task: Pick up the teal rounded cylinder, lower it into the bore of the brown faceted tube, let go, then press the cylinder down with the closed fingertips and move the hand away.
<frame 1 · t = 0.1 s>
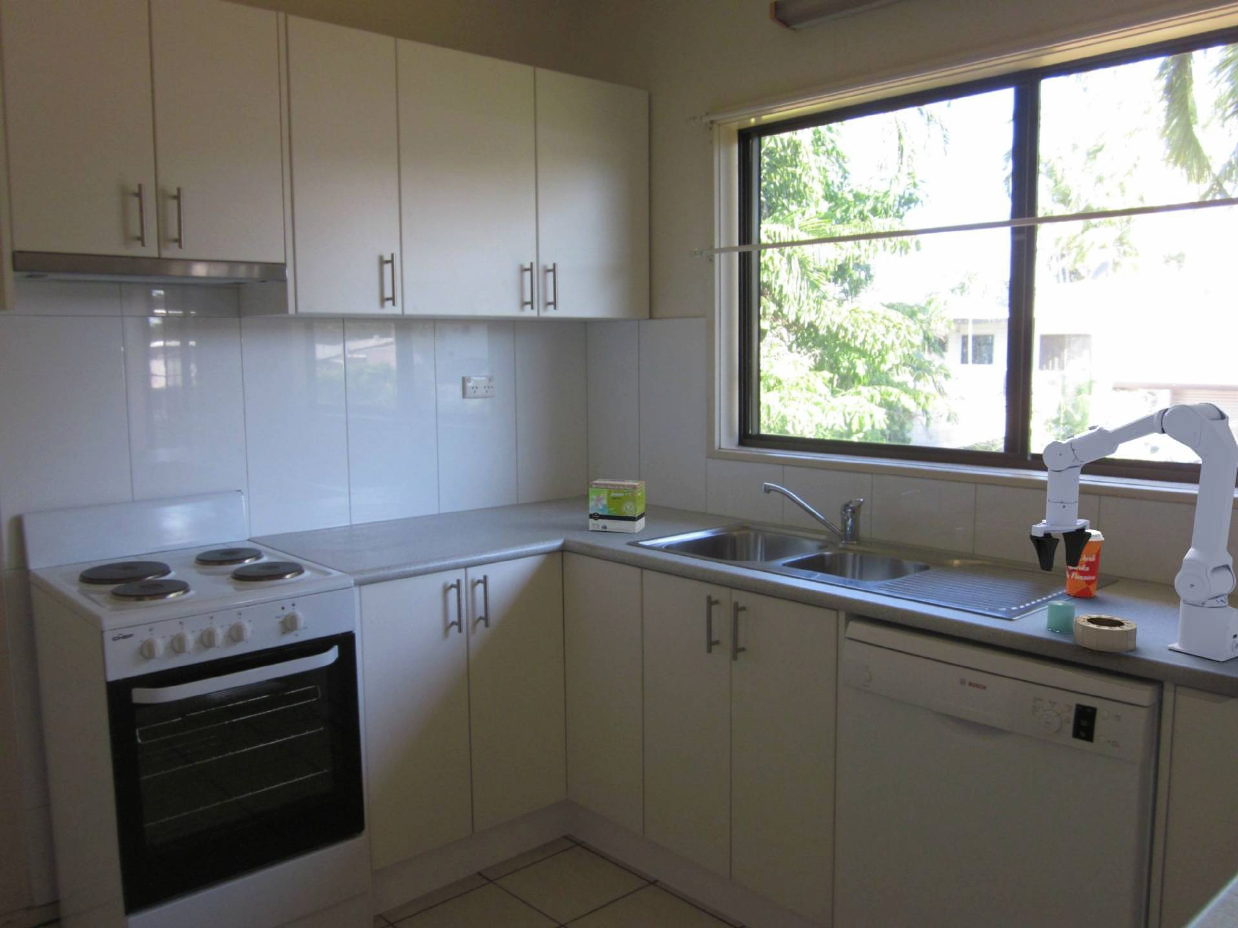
hand: (1059, 568, 196), 10 cm above the countertop, tool pointing down, fingers open, 7 cm apart
paper cup: (1081, 595, 215), on the countertop
teal rounded cylinder: (1060, 629, 189), on the countertop
brown faceted tube: (1104, 643, 179), on the countertop
tea box: (617, 530, 295), on the countertop
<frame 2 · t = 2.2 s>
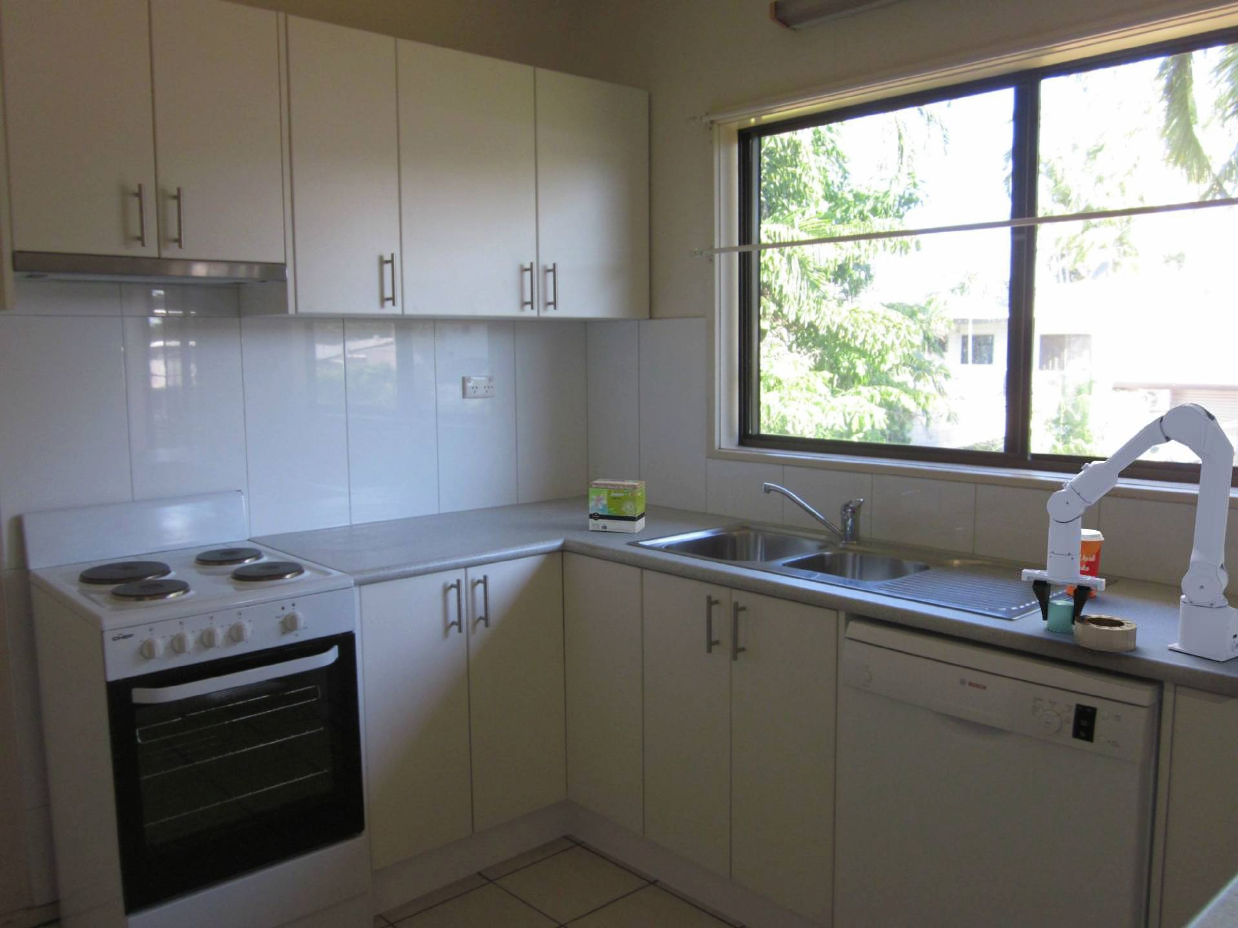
hand: (1060, 621, 189), 1 cm above the countertop, tool pointing down, fingers closed on teal rounded cylinder, 5 cm apart
teal rounded cylinder: (1060, 628, 189), on the countertop, touching gripper
everything else where it was.
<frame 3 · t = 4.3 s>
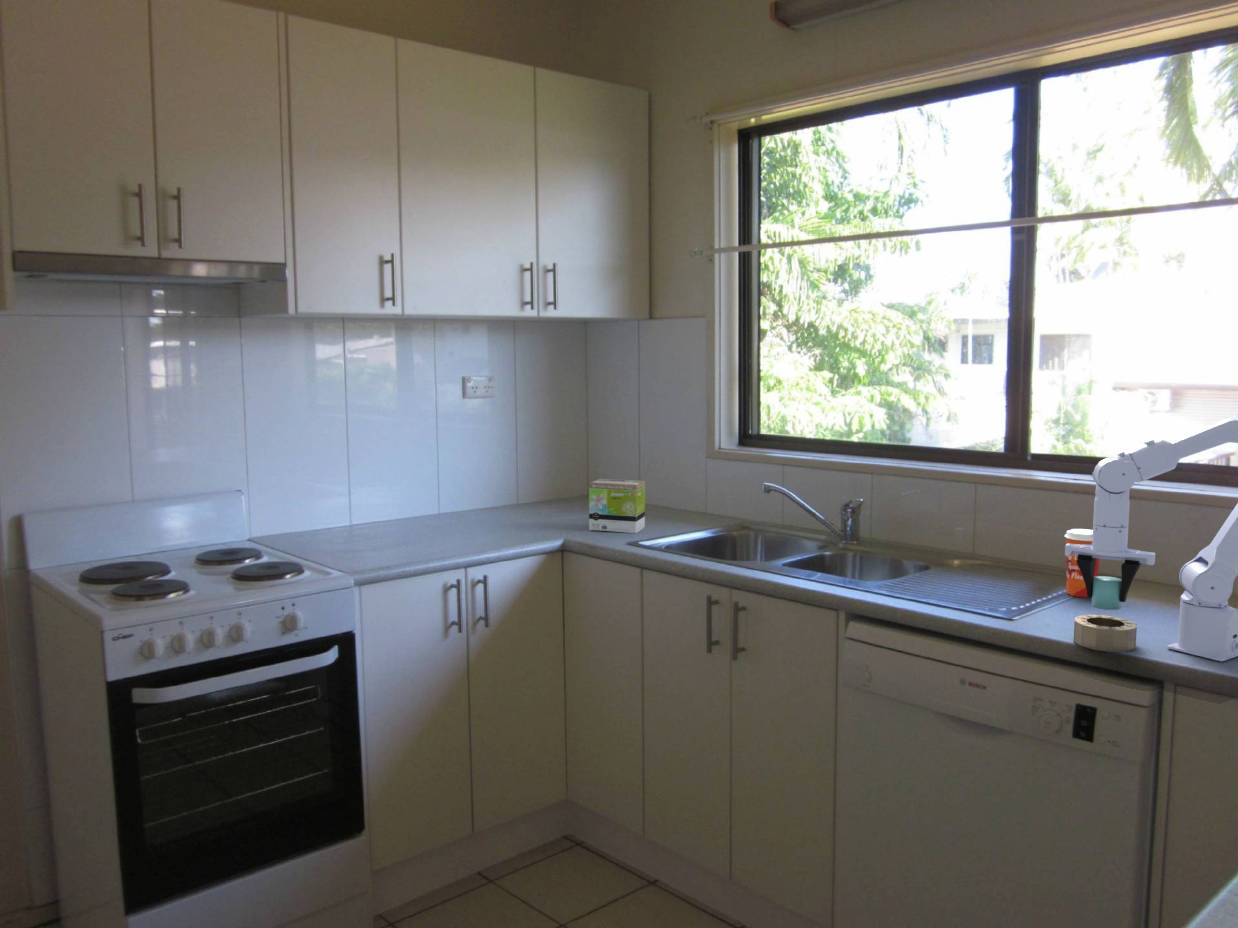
hand: (1106, 598, 178), 8 cm above the countertop, tool pointing down, fingers closed on teal rounded cylinder, 5 cm apart
teal rounded cylinder: (1106, 606, 179), point 7 cm above the countertop, touching gripper
everything else where it was.
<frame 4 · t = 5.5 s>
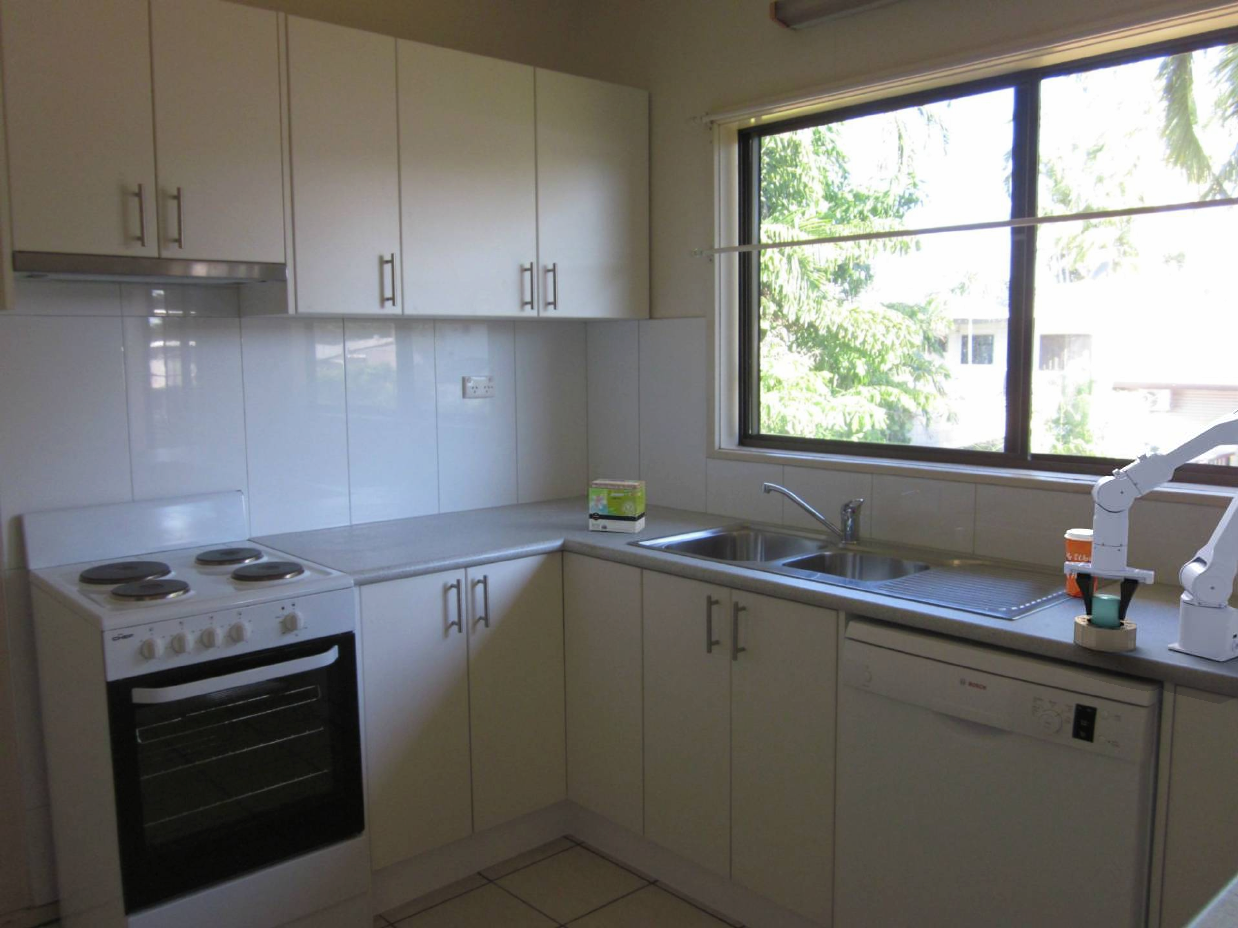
hand: (1105, 616, 179), 5 cm above the countertop, tool pointing down, fingers closed on teal rounded cylinder, 5 cm apart
teal rounded cylinder: (1105, 624, 179), point 4 cm above the countertop, touching gripper
everything else where it was.
when the fingers open (5 cm above the countertop, at t = 6.4 s): teal rounded cylinder drops 4 cm, resting in brown faceted tube.
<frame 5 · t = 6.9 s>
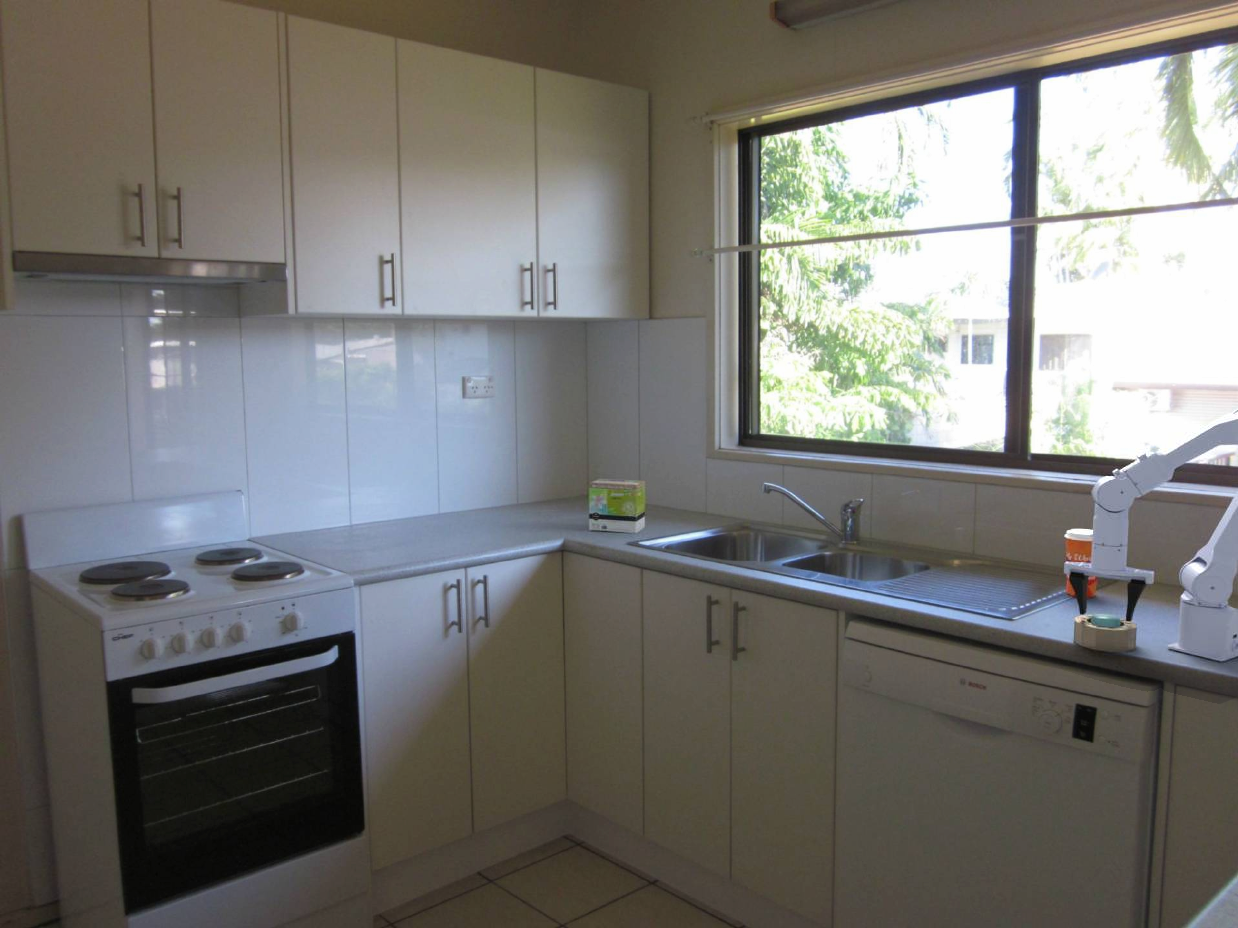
hand: (1105, 616, 179), 5 cm above the countertop, tool pointing down, fingers open, 7 cm apart
teal rounded cylinder: (1104, 643, 179), resting in brown faceted tube
everything else where it was.
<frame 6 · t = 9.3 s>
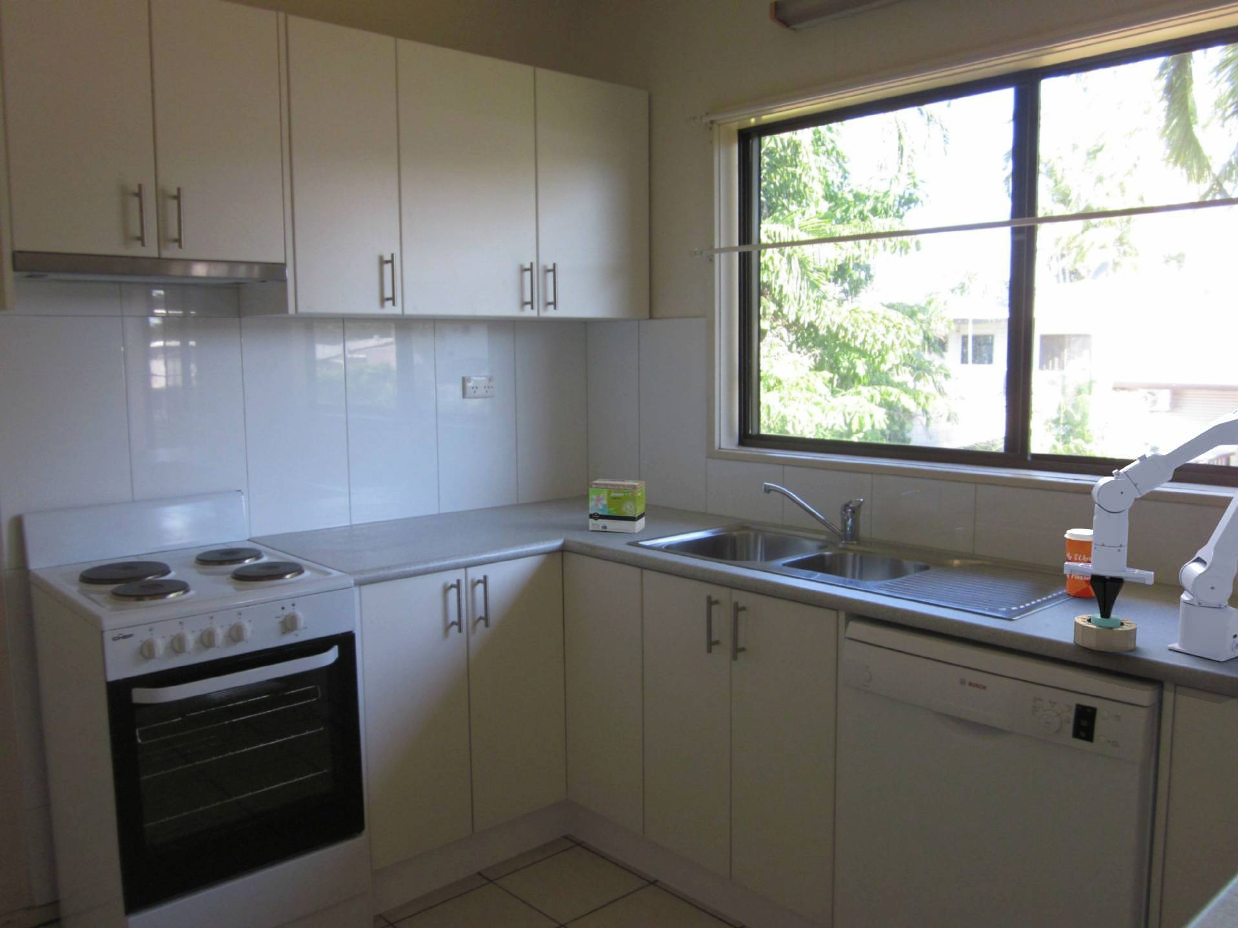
hand: (1105, 617, 179), 5 cm above the countertop, tool pointing down, fingers closed, pressing on teal rounded cylinder
teal rounded cylinder: (1104, 643, 179), resting in brown faceted tube, touching gripper
everything else where it was.
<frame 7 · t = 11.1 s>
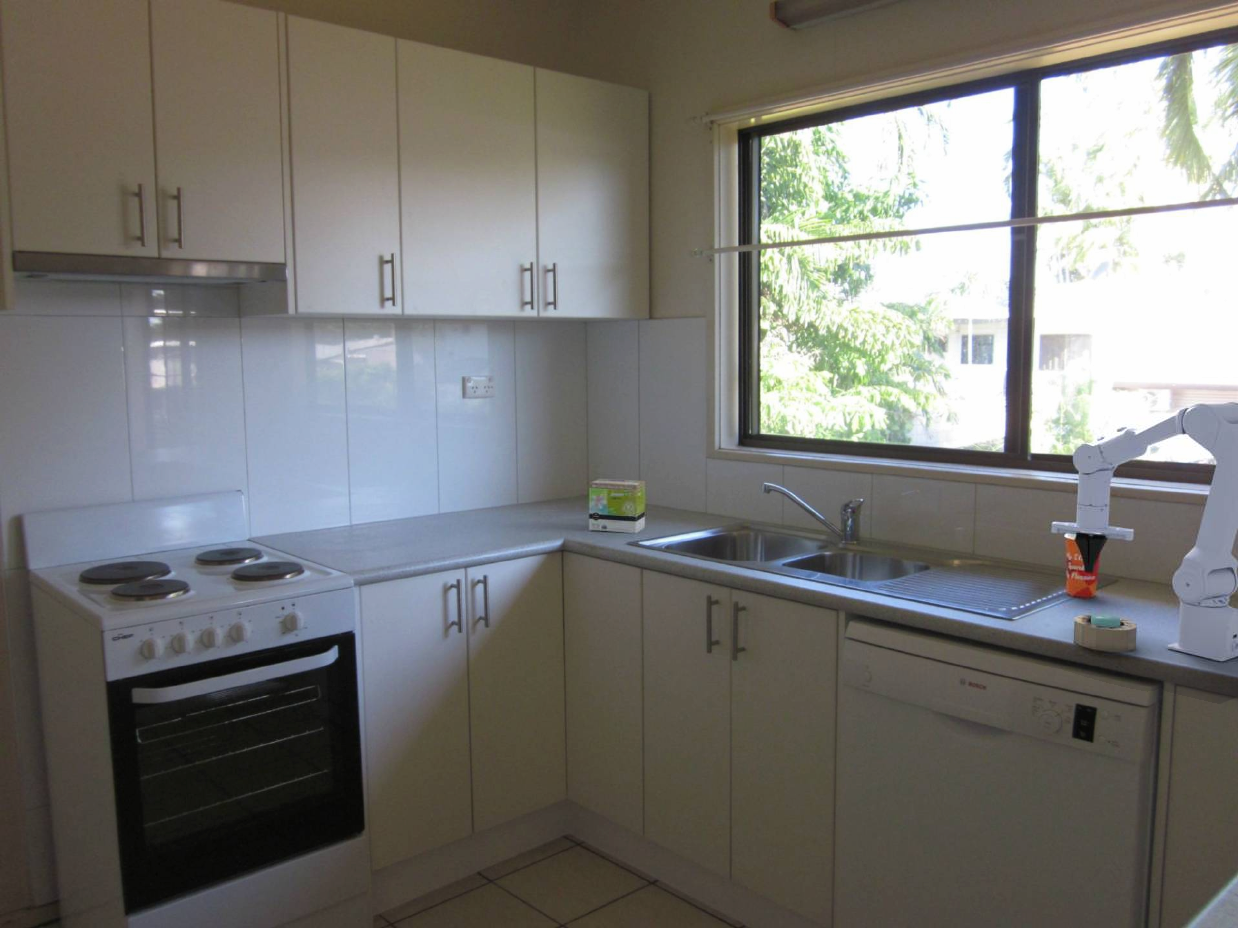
hand: (1089, 571, 195), 9 cm above the countertop, tool pointing down, fingers closed
teal rounded cylinder: (1104, 643, 179), resting in brown faceted tube
everything else where it was.
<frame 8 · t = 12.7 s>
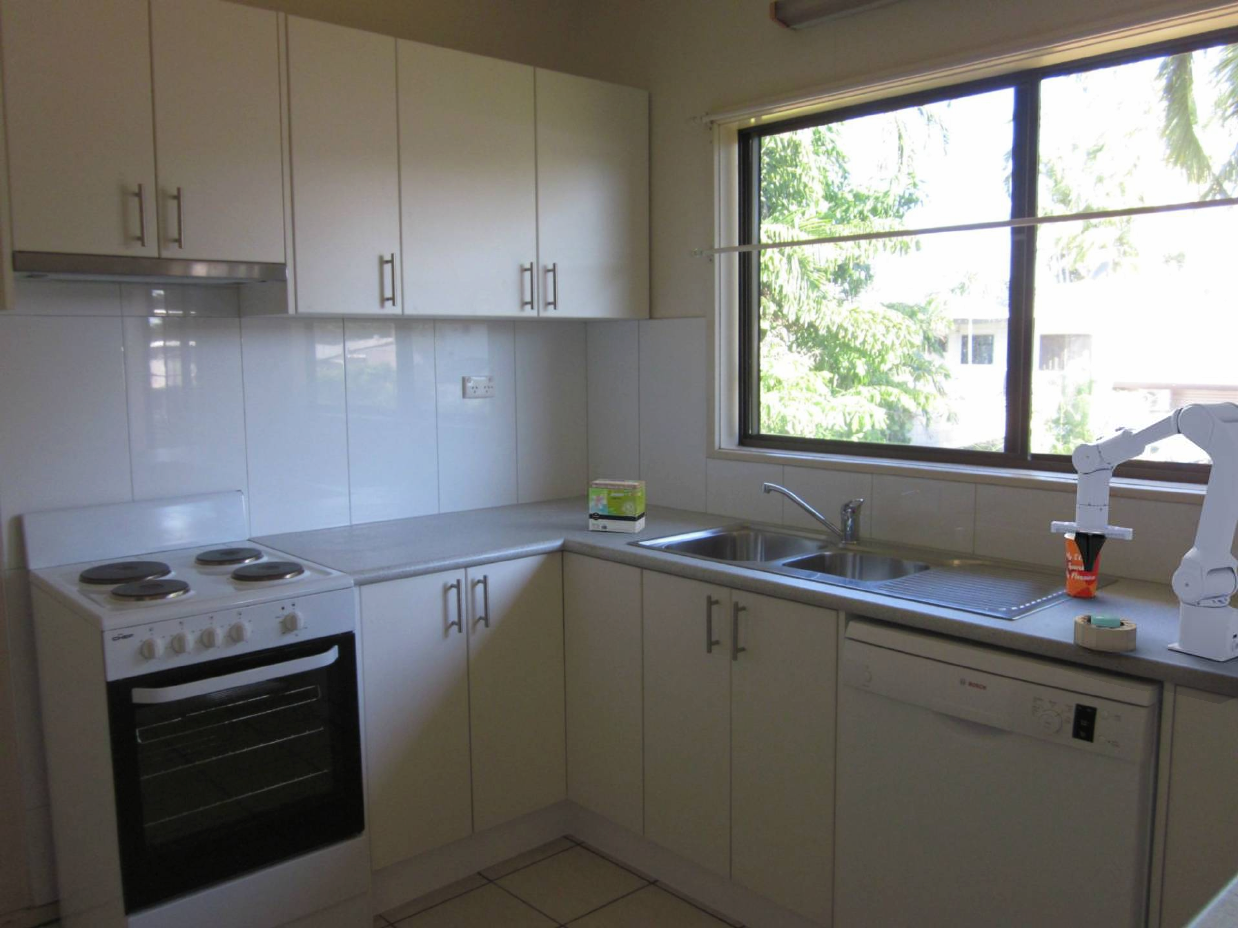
hand: (1088, 571, 196), 9 cm above the countertop, tool pointing down, fingers closed
nothing on the countertop moved.
at the end: teal rounded cylinder 0.0 cm from the brown faceted tube (horizontally); teal rounded cylinder resting in brown faceted tube; teal rounded cylinder tilted 0° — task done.
